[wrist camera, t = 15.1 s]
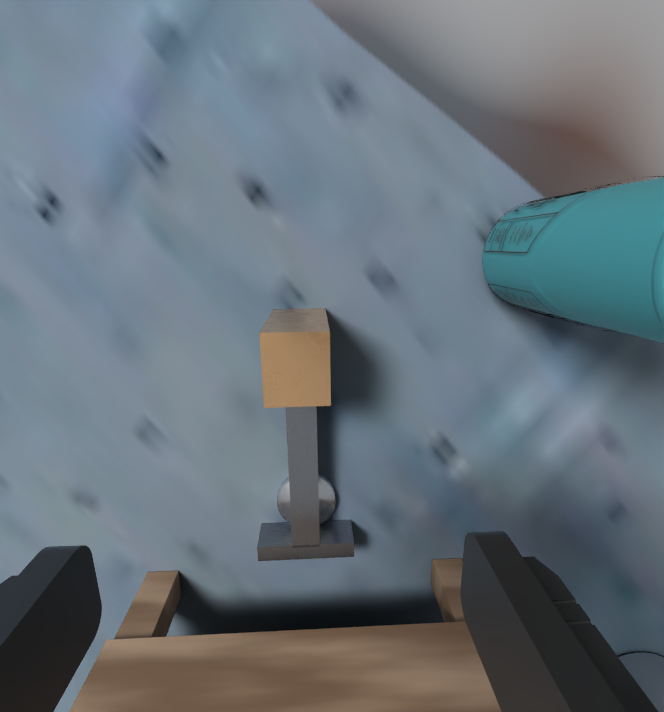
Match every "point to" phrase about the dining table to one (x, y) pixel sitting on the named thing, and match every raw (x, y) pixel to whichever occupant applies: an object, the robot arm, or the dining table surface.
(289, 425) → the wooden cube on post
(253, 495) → the dining table surface
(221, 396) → the dining table surface
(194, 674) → the small wooden stool
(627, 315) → the beverage bottle
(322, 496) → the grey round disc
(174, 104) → the dining table surface
